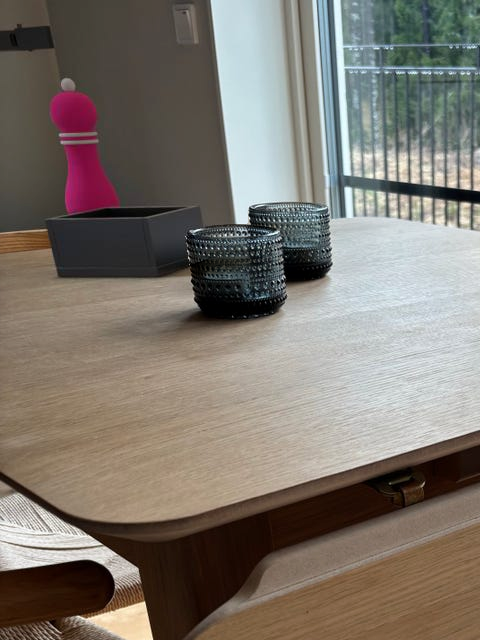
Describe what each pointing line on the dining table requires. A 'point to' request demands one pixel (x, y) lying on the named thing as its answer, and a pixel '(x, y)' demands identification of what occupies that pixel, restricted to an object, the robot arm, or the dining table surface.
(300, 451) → the dining table surface
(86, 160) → the pepper mill
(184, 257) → the basin
